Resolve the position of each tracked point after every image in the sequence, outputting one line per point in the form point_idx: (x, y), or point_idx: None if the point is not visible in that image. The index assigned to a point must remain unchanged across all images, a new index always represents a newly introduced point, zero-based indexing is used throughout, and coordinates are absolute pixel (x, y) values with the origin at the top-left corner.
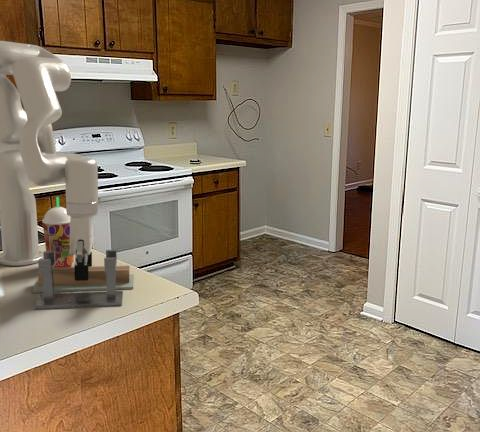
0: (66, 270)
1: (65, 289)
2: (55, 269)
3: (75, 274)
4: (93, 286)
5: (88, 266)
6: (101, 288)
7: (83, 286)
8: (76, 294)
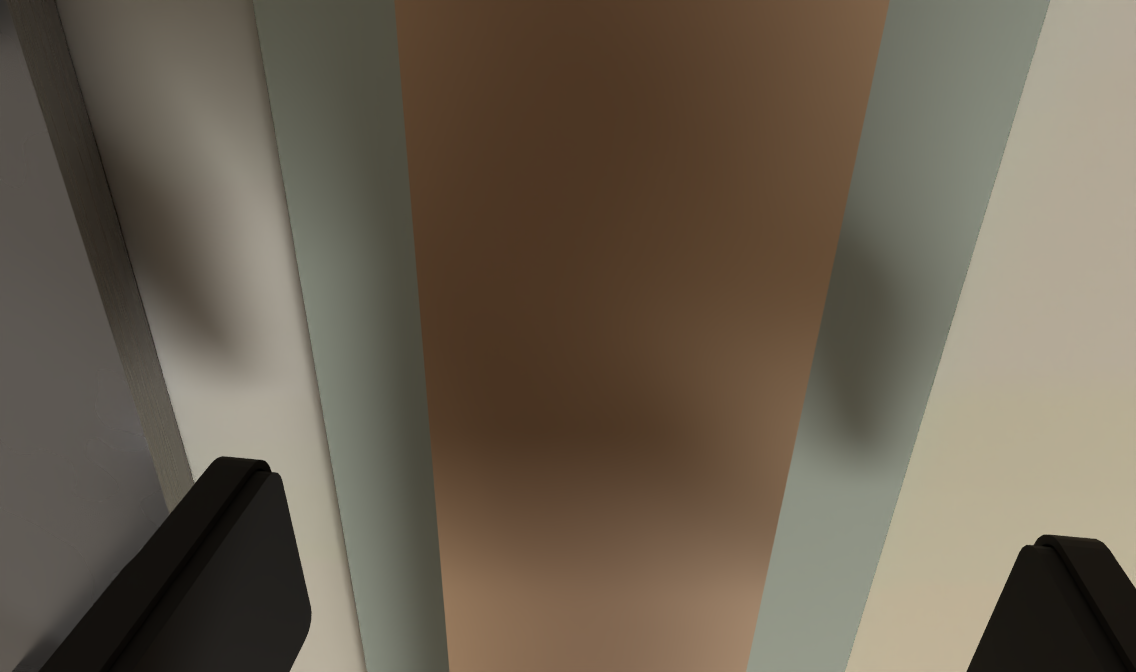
0: (537, 352)
1: (288, 210)
2: (675, 29)
3: (154, 552)
4: (415, 564)
5: (972, 664)
6: (365, 628)
7: (415, 458)
8: (59, 386)
